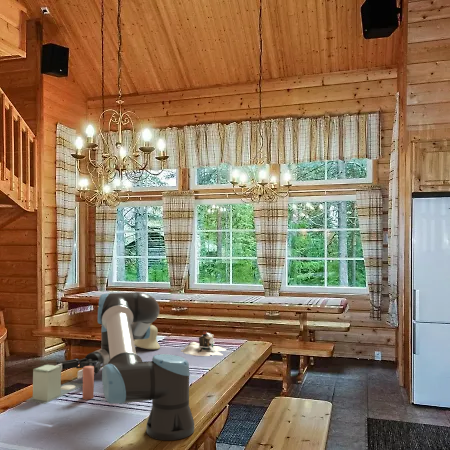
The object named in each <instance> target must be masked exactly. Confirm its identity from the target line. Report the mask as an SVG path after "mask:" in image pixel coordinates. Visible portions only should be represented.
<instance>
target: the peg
mask: <svg viewBox="0 0 450 450" xmlns="http://www.w3.org/2000/svg"><path fill="white" fill-rule="evenodd" d="M82 369H83V377H82V384H83V386H82V400H86V401H87V400H88V401H89V400H92V399H94V397H95V396H94V391H95V382H94V381H95V376H94V375H95V372H94V366H85V367H83V368H82Z"/></svg>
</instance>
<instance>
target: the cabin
mask: <svg viewBox="0 0 450 450" xmlns="http://www.w3.org/2000/svg"><path fill="white" fill-rule="evenodd" d="M207 329H208V328H206V330H204V329H202V330H203V331H202V335H201V336H199V337H198V342H196V341H192V342H189V343H188V344H187V345H186V346H185V348H183V349H181V350H180V352H182V353H183V354H186V355H189V356H197V357H198V356H199V357H211V356H210V355H212V356H224V354H223V353H221V351H223V352H224V351H227V349H226V348H224V347H221V346H219V345H214V344H215V343H216V342H215V341H214V340H215V339H214V336H215V335H214V334H212V333H211V331H208V330H207ZM207 331H208V332H207Z"/></svg>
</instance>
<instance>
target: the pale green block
mask: <svg viewBox="0 0 450 450" xmlns="http://www.w3.org/2000/svg"><path fill="white" fill-rule="evenodd" d="M61 380H62V371H61V366H56V365H54V364H44V365H41V366H38V367H35V368H33V369H32V398H33V399H37V400H43V401H49V400H51V399H53V398H56V397H58V396H60V395H61V385H62V384H61V383H62V382H61Z"/></svg>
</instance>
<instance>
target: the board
mask: <svg viewBox="0 0 450 450" xmlns="http://www.w3.org/2000/svg"><path fill="white" fill-rule="evenodd" d="M81 387H82V388H83V383H81V382H80V383H79V382H72V381H67V382H65V383H63V384H61V395H60V396H58V397H56V398H53V399H51V400H49V401H43V400H37V399H33V397H30V398H28V399H26V400H25V401H26V402H31V403H37V404H43V405H47V404H48V403H50V402H52V401H55V400H56V399H58V398H61V397H62V396H65V395H66V394H69V393H71V392H73V391H75V390H78V389H79V388H81Z"/></svg>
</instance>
